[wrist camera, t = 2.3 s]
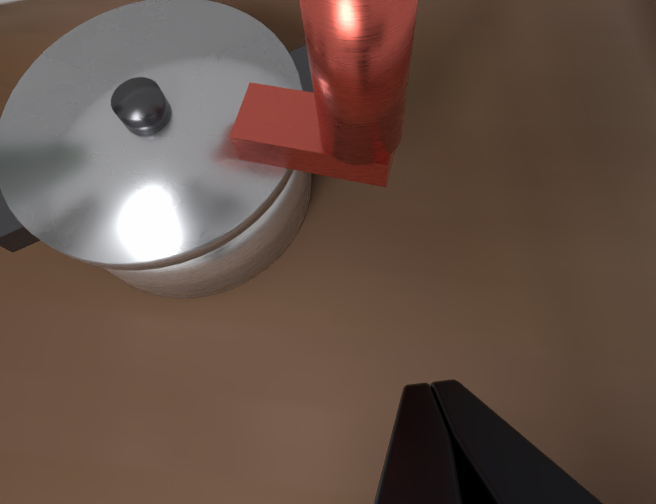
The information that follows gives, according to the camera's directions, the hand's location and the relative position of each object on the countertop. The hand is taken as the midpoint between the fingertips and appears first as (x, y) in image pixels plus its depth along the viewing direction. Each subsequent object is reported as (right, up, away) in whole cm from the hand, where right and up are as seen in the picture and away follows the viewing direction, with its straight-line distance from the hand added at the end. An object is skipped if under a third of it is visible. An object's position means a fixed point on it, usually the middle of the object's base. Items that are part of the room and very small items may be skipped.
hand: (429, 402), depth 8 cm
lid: (-7, +7, +10) cm, 14 cm away
